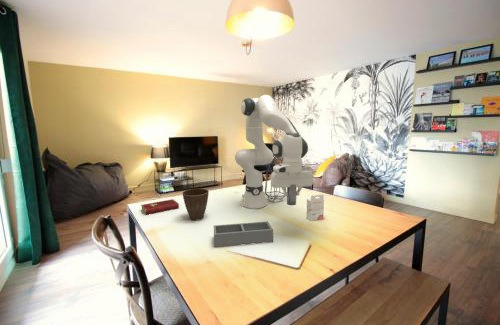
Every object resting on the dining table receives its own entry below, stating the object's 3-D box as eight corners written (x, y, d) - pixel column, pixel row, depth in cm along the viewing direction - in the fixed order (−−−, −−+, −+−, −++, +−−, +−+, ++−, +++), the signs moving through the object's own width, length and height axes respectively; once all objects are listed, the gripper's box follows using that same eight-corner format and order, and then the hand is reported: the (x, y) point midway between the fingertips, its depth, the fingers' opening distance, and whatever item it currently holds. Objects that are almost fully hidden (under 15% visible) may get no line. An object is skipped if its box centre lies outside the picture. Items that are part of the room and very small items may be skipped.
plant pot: (203, 223, 130) (202, 196, 128) (178, 222, 133) (177, 194, 130) (213, 214, 144) (212, 189, 142) (190, 212, 147) (189, 188, 145)
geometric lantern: (261, 198, 176) (261, 152, 171) (279, 196, 182) (280, 151, 178) (271, 204, 161) (272, 154, 157) (290, 202, 168) (292, 153, 164)
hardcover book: (179, 209, 156) (178, 203, 155) (145, 216, 143) (144, 209, 143) (173, 204, 165) (172, 198, 165) (141, 210, 153) (140, 204, 152)
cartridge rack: (213, 237, 114) (213, 225, 113) (267, 232, 118) (267, 221, 118) (214, 247, 104) (214, 234, 103) (273, 241, 109) (273, 229, 108)
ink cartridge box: (318, 216, 140) (319, 192, 138) (323, 219, 135) (324, 194, 133) (306, 217, 138) (306, 193, 136) (310, 221, 133) (311, 195, 131)
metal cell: (285, 202, 115) (285, 181, 113) (294, 202, 116) (294, 180, 114) (288, 205, 111) (289, 183, 109) (297, 205, 111) (297, 183, 110)
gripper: (310, 165, 115) (309, 192, 117) (269, 166, 112) (269, 194, 114) (315, 167, 109) (314, 196, 111) (273, 169, 106) (273, 198, 108)
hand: (291, 195), depth 112 cm, fingers closed on metal cell, 4 cm apart
